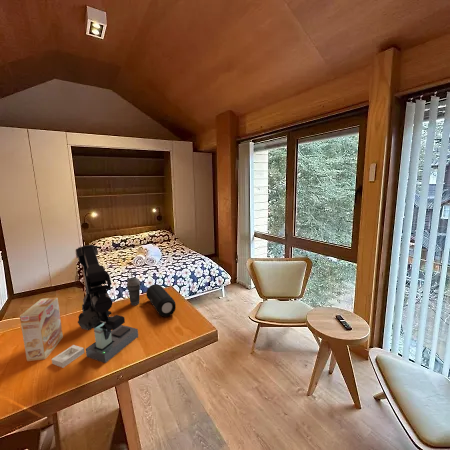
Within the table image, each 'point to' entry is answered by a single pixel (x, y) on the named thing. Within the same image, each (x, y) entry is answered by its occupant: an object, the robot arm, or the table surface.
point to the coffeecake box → (41, 328)
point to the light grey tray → (68, 356)
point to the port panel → (113, 344)
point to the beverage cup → (134, 290)
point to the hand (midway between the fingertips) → (103, 338)
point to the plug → (101, 337)
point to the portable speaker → (161, 300)
